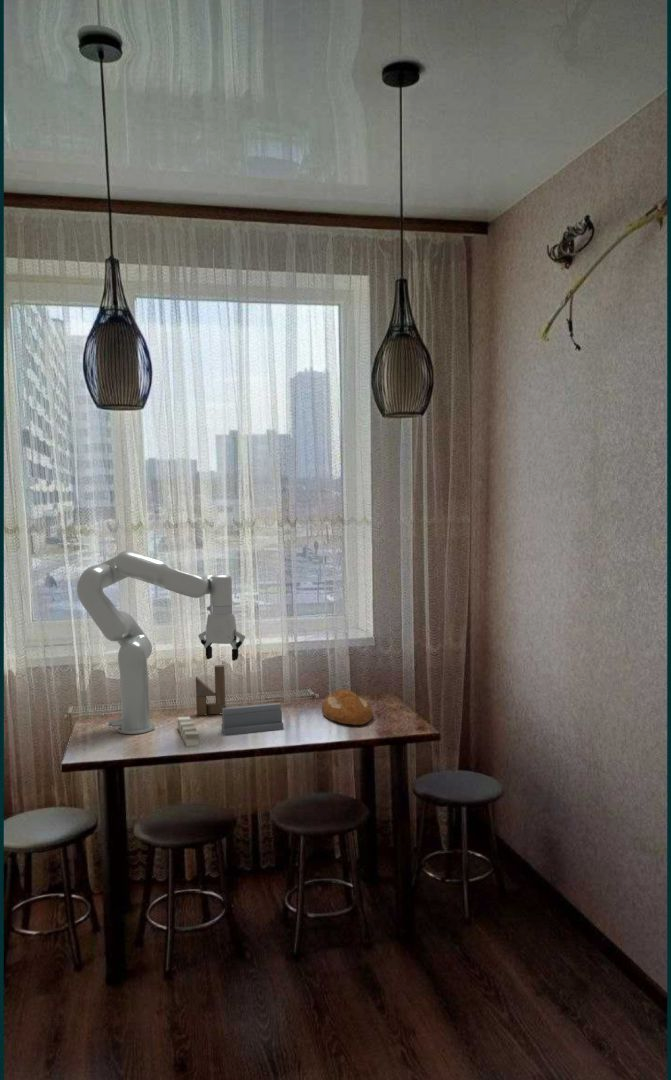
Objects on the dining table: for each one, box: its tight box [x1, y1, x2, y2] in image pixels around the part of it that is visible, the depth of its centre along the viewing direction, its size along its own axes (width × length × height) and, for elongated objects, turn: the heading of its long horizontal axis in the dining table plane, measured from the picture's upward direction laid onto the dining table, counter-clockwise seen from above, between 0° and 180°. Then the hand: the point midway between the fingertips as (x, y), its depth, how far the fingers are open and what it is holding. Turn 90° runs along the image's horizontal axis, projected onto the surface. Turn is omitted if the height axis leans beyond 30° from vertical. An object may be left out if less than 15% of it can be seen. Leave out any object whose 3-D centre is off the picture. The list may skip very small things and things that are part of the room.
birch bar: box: [177, 716, 200, 747], centre depth 285 cm, size 24×4×4 cm, turn 17°
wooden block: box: [195, 664, 227, 716], centre depth 314 cm, size 4×11×18 cm, turn 98°
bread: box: [321, 688, 374, 726], centre depth 307 cm, size 18×35×9 cm, turn 12°
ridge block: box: [221, 702, 284, 736], centre depth 291 cm, size 20×8×8 cm, turn 107°
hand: (222, 659), depth 295 cm, fingers open, 9 cm apart
